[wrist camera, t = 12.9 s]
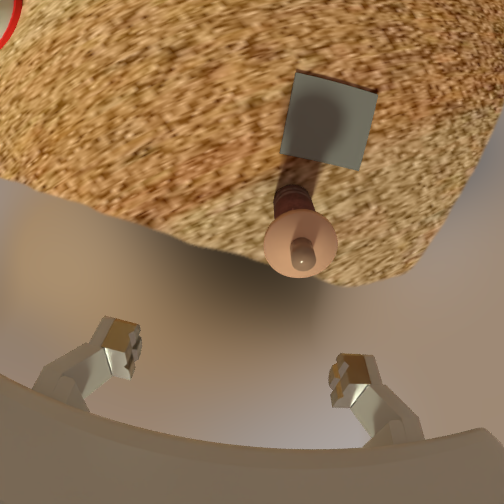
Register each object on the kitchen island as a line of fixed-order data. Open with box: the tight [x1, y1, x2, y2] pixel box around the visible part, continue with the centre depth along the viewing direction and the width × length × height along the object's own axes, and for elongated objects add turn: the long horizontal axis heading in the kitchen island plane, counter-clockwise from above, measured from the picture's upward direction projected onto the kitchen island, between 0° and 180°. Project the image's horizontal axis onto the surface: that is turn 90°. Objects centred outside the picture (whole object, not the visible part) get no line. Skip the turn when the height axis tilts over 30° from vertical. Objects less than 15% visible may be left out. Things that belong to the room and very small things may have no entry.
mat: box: [280, 73, 378, 171], centre depth 42 cm, size 13×13×1 cm
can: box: [273, 185, 316, 219], centre depth 44 cm, size 6×6×14 cm
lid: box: [264, 209, 338, 278], centre depth 36 cm, size 9×9×4 cm
